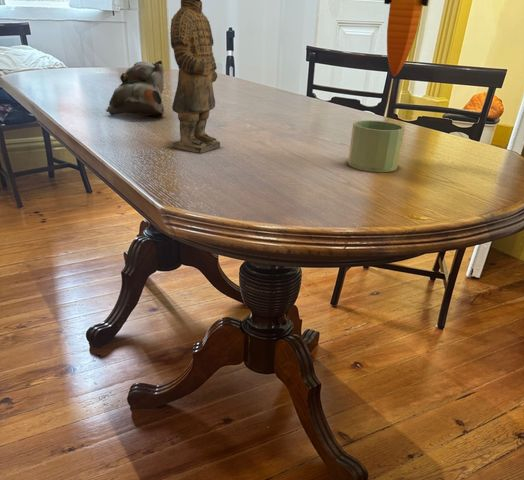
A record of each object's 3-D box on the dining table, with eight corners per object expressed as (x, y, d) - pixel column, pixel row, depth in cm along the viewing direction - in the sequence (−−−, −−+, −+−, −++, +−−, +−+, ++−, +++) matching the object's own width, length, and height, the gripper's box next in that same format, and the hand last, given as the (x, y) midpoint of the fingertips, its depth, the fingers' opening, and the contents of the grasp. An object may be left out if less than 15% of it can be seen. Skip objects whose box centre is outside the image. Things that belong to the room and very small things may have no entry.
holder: (399, 163, 98) (407, 123, 94) (393, 174, 91) (401, 132, 87) (353, 157, 100) (358, 118, 96) (343, 168, 93) (349, 126, 89)
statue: (196, 155, 95) (191, -48, 79) (164, 148, 99) (153, -49, 82) (228, 145, 103) (229, -42, 86) (197, 139, 106) (193, -43, 89)
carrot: (404, 79, 80) (426, -41, 72) (374, 75, 82) (391, -42, 74) (413, 76, 84) (434, -38, 76) (383, 73, 86) (401, -39, 78)
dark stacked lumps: (97, 113, 123) (104, 53, 122) (141, 130, 132) (148, 74, 131) (128, 102, 113) (136, 37, 112) (174, 122, 121) (182, 61, 120)
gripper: (365, -167, 67) (346, 1, 77) (503, -172, 63) (464, 7, 73) (373, -153, 73) (354, 2, 83) (500, -155, 69) (464, 8, 79)
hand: (406, 3), depth 78 cm, fingers closed on carrot, 4 cm apart
